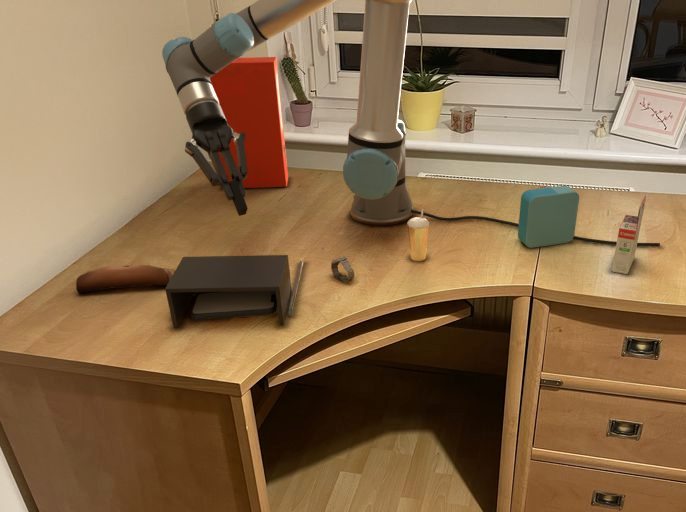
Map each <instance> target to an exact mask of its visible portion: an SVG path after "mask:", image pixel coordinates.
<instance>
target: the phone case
mask: <svg viewBox="0 0 686 512" xmlns="http://www.w3.org/2000/svg"><path fill="white" fill-rule="evenodd" d="M277 312H278V308H277V300H276V292H275V291H229V292H214V293H201V294H198V295H195V297H194V299H193V303H192V306H191V309H190V312H189V316H190V318H191V320H194V321H204V320H218V319H219V320H220V319H231V318H232V319H233V318H244V317H258V316H259V317H260V316H271V315H274V314H276V313H277Z"/></svg>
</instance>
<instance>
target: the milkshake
mask: <svg viewBox="0 0 686 512" xmlns="http://www.w3.org/2000/svg"><path fill="white" fill-rule="evenodd" d="M423 212H425V210H424V209H421V215H420V217H416V216H415V217H411V218H410V219H409V220H407V223H406V224H407V232H408V242H409V243H408V244H409V255H410V259H411V260H412V261H414V262H421V261H425V260H426V258H427V248H428V237H429V229H430V221H429V220H428V219H426V218H425V217H424V215H423Z"/></svg>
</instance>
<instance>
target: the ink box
mask: <svg viewBox="0 0 686 512" xmlns="http://www.w3.org/2000/svg"><path fill="white" fill-rule="evenodd" d="M646 200H647V195H646V194H645V195H644V197H643V199H642V201H641V203H640V206H639V208H638V213H637V215H631V214H625V216H624V218H623V219H622V221H621V224H620V226H619V228H618V233H617V240H616V242H617V244H616V245H615V249H614V256H613V261H612V266H611V270H610V271H611V272H613V273H616V274H617V273H618V274H624V275H628V274H629V271H630V269H631V267H632V264H633V262H634V259H635V256H636V252H637V247H638V246H637V243H639V236H640V231H641V226H642V221H643V216H644V211H645V206H646Z"/></svg>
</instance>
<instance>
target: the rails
mask: <svg viewBox="0 0 686 512" xmlns="http://www.w3.org/2000/svg"><path fill="white" fill-rule="evenodd" d="M304 263H305V262H304V261H303V260H300V261H299V264H298V269H297V274H296V278H295V282H294V286H293V289H292V293H291V298H290V302H289V306H288V310H287V317H288V318H292V317H293V313H294V308H295V305H296V299H297V295H298V291H299V287H300V281H301V278H302V273H303V268H304V265H305V264H304Z"/></svg>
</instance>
